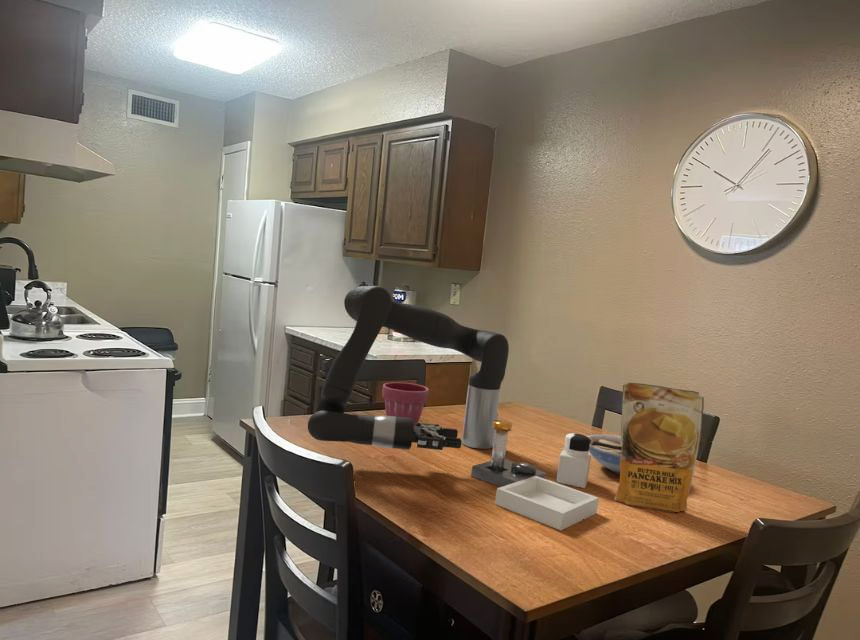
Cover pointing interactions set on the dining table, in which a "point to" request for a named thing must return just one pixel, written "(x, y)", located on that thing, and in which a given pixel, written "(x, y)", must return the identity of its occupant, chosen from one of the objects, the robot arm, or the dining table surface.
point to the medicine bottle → (574, 461)
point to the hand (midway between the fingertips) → (459, 438)
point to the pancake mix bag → (658, 446)
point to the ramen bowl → (606, 451)
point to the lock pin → (499, 444)
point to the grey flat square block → (506, 472)
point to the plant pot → (405, 400)
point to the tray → (547, 502)
